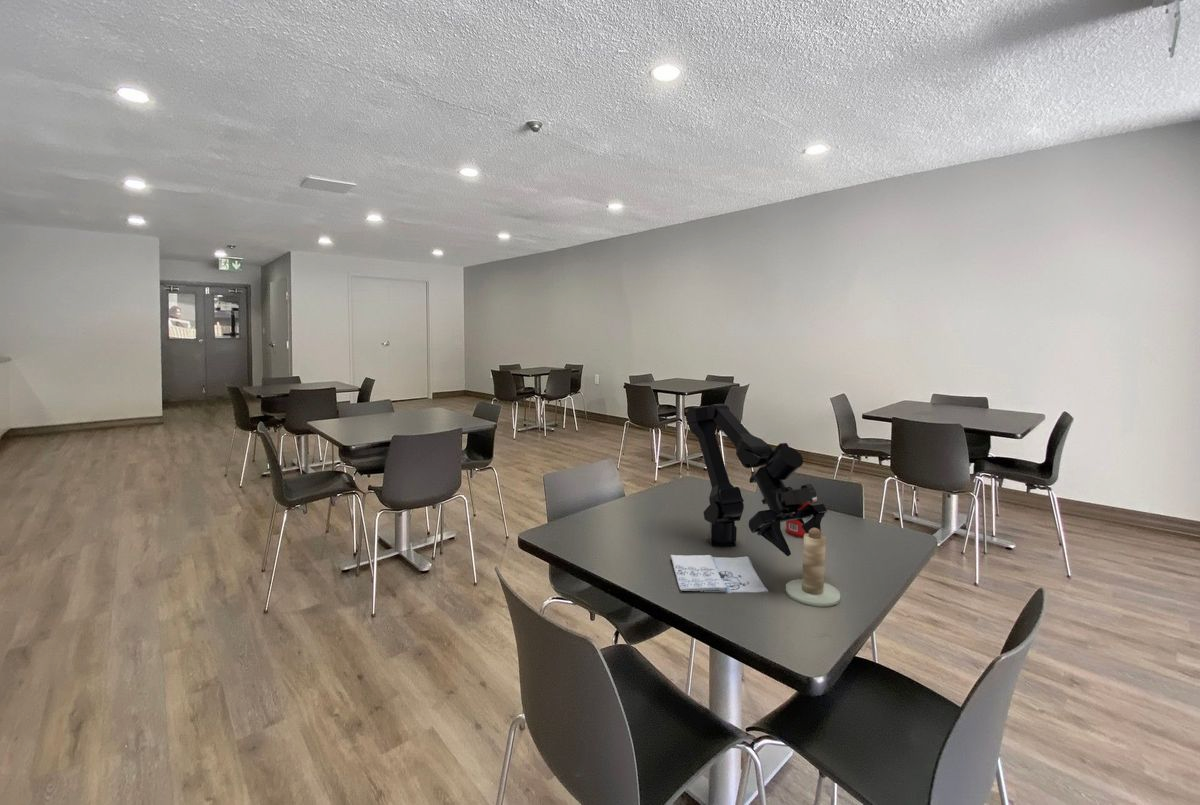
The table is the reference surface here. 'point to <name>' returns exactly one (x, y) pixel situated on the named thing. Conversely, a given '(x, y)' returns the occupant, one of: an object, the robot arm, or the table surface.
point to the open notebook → (716, 574)
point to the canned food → (797, 523)
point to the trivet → (822, 600)
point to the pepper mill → (813, 562)
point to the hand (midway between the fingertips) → (805, 552)
